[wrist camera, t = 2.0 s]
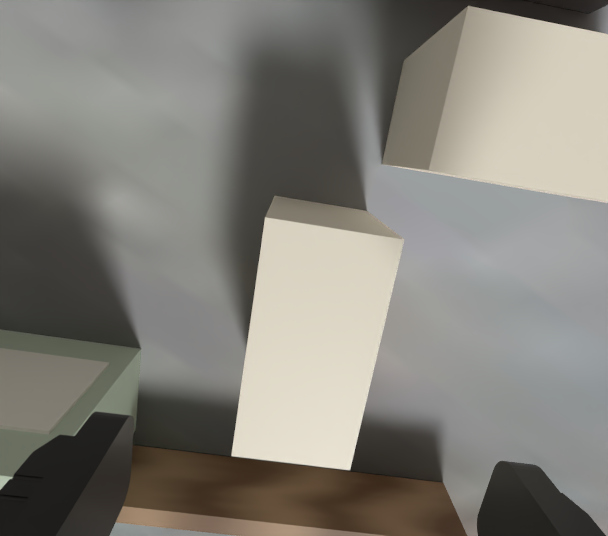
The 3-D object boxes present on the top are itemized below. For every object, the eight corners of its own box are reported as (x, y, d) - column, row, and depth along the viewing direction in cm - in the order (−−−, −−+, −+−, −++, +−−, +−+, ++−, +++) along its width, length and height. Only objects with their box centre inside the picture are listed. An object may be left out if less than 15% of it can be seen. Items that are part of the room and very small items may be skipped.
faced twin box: (404, 57, 18) (469, -1, 11) (595, 93, 19) (766, 60, 12) (381, 164, 19) (428, 170, 13) (561, 195, 20) (699, 217, 13)
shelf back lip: (443, 482, 24) (471, 545, 20) (438, 496, 24) (465, 560, 21) (-14, 427, 22) (-77, 483, 19) (-13, 442, 23) (-76, 501, 19)
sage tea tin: (141, 345, 21) (37, 476, 13) (136, 429, 23) (39, 598, 14) (-17, 324, 21) (-237, 444, 12) (-13, 410, 22) (-209, 574, 14)
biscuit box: (369, 210, 20) (409, 240, 13) (335, 374, 22) (353, 470, 15) (274, 195, 20) (265, 217, 13) (250, 363, 22) (231, 456, 15)
